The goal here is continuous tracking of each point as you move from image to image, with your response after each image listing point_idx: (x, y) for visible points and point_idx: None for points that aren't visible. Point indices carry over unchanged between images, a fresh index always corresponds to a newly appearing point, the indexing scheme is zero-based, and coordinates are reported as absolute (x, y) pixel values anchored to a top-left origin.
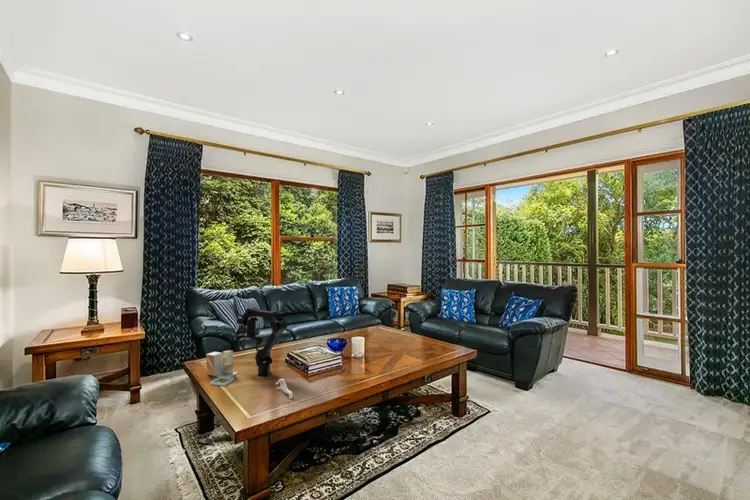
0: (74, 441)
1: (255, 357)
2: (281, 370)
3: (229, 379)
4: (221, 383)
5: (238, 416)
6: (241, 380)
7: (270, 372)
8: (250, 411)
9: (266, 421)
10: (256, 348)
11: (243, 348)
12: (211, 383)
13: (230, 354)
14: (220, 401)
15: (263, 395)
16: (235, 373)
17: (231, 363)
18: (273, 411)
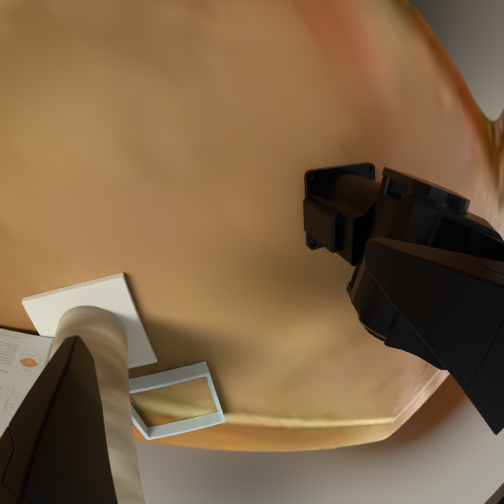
0: None
1: (368, 327)
2: (401, 93)
3: (178, 373)
4: (208, 425)
5: (374, 432)
6: (252, 343)
7: (368, 167)
8: (391, 413)
9: (422, 404)
10: (417, 321)
11: (100, 402)
12: (153, 433)
13: (142, 492)
14: (299, 445)
15: (403, 363)
16: (128, 304)
17: (130, 405)
18: (431, 383)
